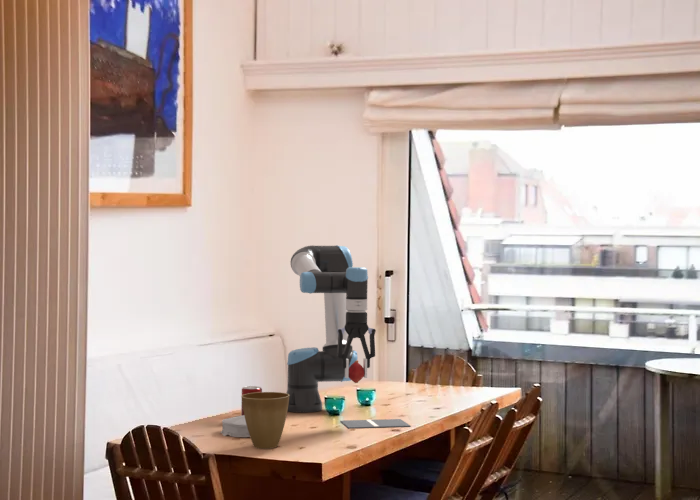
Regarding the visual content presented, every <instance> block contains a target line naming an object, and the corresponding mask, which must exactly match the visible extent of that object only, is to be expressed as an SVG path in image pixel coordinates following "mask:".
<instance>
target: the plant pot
mask: <svg viewBox="0 0 700 500" xmlns="http://www.w3.org/2000/svg"><path fill="white" fill-rule="evenodd" d="M240 397H241V401H242V405H243V411H244V416H245V420H246V424H247V428H248V431H249V435H250V437H249V438H250V440H251V443H252V445H253V448H255V449H259V450H261V449H263V450H265V449H266V450H268V449H269V450H270V449H275V448H277V447H278V446H279V444H280V440H281V438H282V435H283V432H284V428H285V424H286V419H287V415H288V411H287V410H288V404H289V394H287V393H286V392H280V391H279V392H277V391H262V392H257V393H248V394H244V395H242V394H241V395H240Z"/></svg>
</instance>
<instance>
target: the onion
mask: <svg viewBox="0 0 700 500" xmlns="http://www.w3.org/2000/svg"><path fill="white" fill-rule="evenodd" d="M363 376H364V369H363V365H361V363H359V360H358V359H357V360H356V361H355V362H354V363H353V364H352V365H351V366H350V367H349V378H350V379H351V381H352V382H353V383H354V384H358V383H359V382H360V381H361V380H362V379H363V378H364V377H363Z"/></svg>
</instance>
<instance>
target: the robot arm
mask: <svg viewBox="0 0 700 500" xmlns="http://www.w3.org/2000/svg"><path fill="white" fill-rule="evenodd" d="M289 262H290V268H291V270H292V271H293V272H294V274H296V275H297V276H299V288H300V289H299V290H300V292H301V293H304V294H309V295H310V294H323V300H324V319H325V320H324V322H325V324H324V325H325V344H324V345H323V346H322V351H321V350H319V348H318V347H303V348H297V349H294V350H291V351H290V352H289V353H288V355H287V363H286V365H287V389H286V392H285V393H287V394H289V404H288V410H287V412H292V413H312V412H313V413H315V412H320V411H322V410H323V402H322V399H321V396H320V392H319V382H321V383H324V382H326V383H327V382H341V383H342V382H350V381H352V380H351V379H350V378H349V367H350V366H351V365H352V364H353V363H354V362H355V361H356V360H358V351H356V350H353V345H352V342H353V340H354V339H359V340H360V342H361V343H360V344H361V346H362V349H363V353H364V355H365V356H364V357H365V358H362V359H363V365H362V367H363V369H364V376H363V378H364V379H367V378H368V369H370V368H371V359H372V358H375V357H376V345H375V344H376V342H375V335H376V333H377V332H376V331H377V330H376V329H375V328H371V327H369V325H368V311H367V310H368V284H369V283H368V279H369V275H368V269H367V268H366V267H355V266H353V265H354V263H353V258H352V254H351V251H350V249H349V248H348V246H344V245H314V244H313V245H306V246H302V247H300V248H299V249H297V250H296V251H295V252H294V253H293V254H292V255H291V258H290V261H289ZM366 311H367V312H366ZM367 333H368V334H369V347H368V344H367V341H366V336H365V335H366V334H367Z"/></svg>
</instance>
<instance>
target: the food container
mask: <svg viewBox="0 0 700 500" xmlns="http://www.w3.org/2000/svg"><path fill="white" fill-rule="evenodd" d="M221 423H222V425H221V426H222V429H221V431H220V432H219V433H220V434H222V436H225V437H226V436H229V437H235V438H248V437H249V438H251V437H250V435H249V431H248V428H247V424H246V420H245V416H244V415H242V416H241V415H236V416H234V417H228V418H224V419H222V420H221Z"/></svg>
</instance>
